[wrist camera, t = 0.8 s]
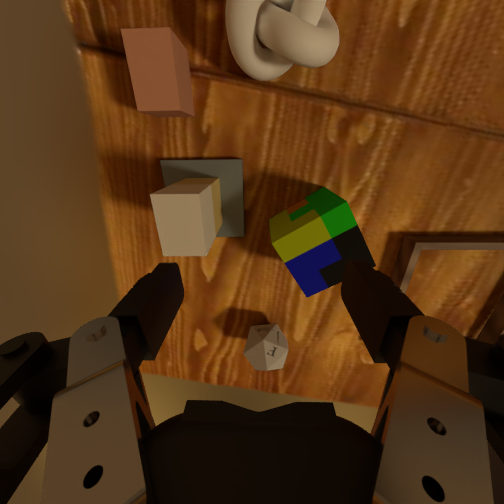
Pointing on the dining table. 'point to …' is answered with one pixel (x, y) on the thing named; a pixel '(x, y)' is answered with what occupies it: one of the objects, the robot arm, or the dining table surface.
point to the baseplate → (229, 187)
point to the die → (266, 347)
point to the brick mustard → (215, 196)
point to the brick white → (184, 219)
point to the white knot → (280, 35)
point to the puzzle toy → (318, 240)
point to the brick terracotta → (159, 72)
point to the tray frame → (411, 247)
